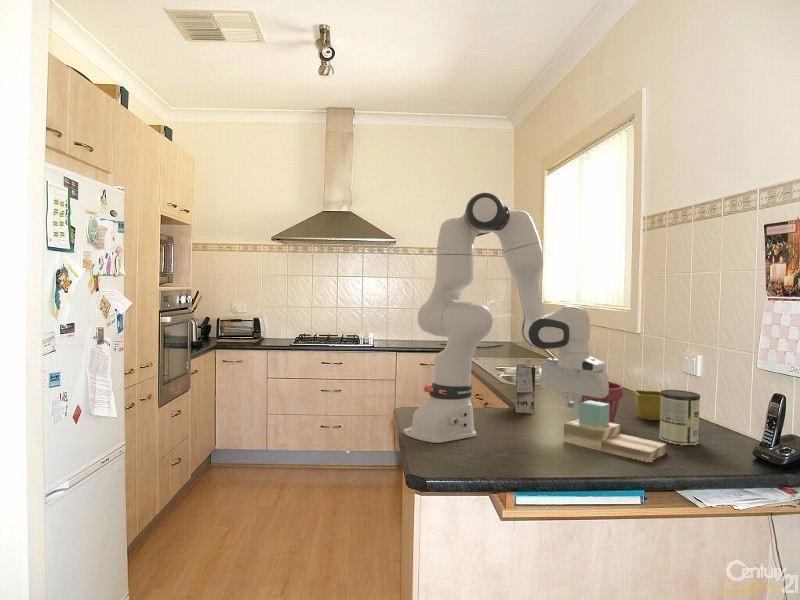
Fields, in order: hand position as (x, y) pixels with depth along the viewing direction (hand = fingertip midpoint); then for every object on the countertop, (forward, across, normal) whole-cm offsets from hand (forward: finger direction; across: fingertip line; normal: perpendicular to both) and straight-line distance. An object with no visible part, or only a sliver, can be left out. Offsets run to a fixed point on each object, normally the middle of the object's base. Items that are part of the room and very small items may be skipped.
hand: (571, 408), depth 152 cm
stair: (+9, +12, 0) cm, 15 cm away
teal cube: (+3, +7, 0) cm, 8 cm away
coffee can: (+9, +22, +22) cm, 33 cm away
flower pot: (+9, +6, +43) cm, 44 cm away
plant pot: (+9, -3, +24) cm, 26 cm away
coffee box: (+9, -28, +19) cm, 35 cm away
